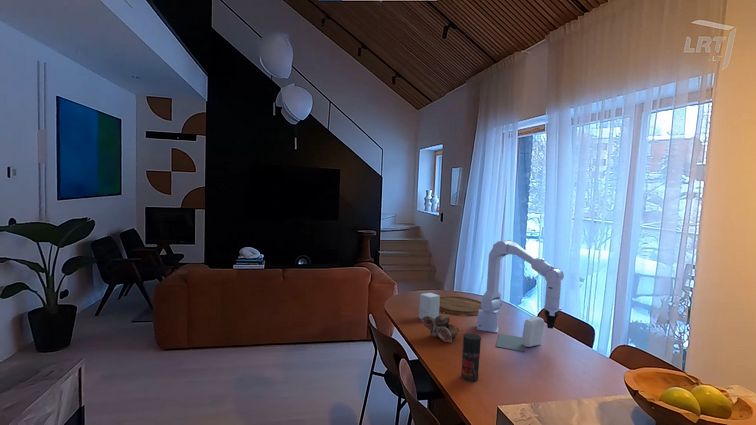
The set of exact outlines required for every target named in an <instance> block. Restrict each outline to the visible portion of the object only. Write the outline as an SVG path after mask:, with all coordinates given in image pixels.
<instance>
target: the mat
mask: <svg viewBox="0 0 756 425" xmlns="http://www.w3.org/2000/svg"><path fill="white" fill-rule="evenodd" d="M495 347H496V348H499V349H505V350H510V351H517V352H521V353H525V351H526V346H524V345H522V336H515V335H510V334H505V333H504V334H503V333H499V334H498V337H497V341H496V345H495Z"/></svg>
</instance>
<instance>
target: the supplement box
mask: <svg viewBox="0 0 756 425" xmlns="http://www.w3.org/2000/svg"><path fill="white" fill-rule="evenodd" d="M440 297H441V295H440V294H436V293H432V292H425V293H424V292H423V293H420V295H419V308H418V309H419V312H418V318H419V319H420V320H422V319H423V318H424V317H426V316H429V317H432V318H434V319H435V318H436V317H437V316H439V315H440V311H439V304H440Z"/></svg>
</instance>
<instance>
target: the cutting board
mask: <svg viewBox="0 0 756 425" xmlns="http://www.w3.org/2000/svg"><path fill="white" fill-rule="evenodd" d="M479 310H483V309H482V308H481V300H480V301H479V300H477V299H473V298H468V297H464V296H454V295H449V296H447V295H446V296H445V295H444V296H440V304H439V312H440V311H442V312H441V313H443V312H445V313H444V314H447V313H450V314H449V315H451V314H455V315H454V316H458V315H466V316H465V317H478V316H477V315H478V312H479Z"/></svg>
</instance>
